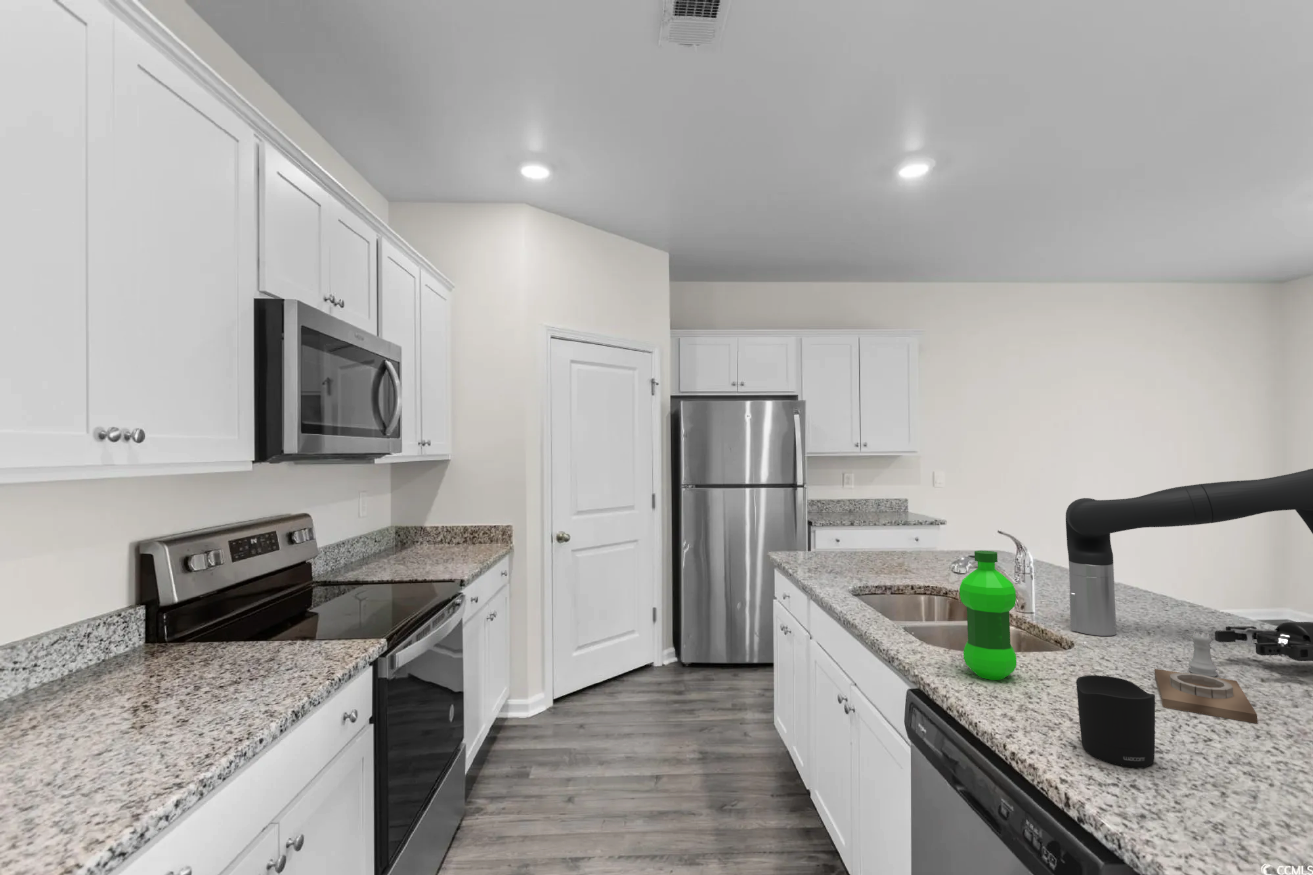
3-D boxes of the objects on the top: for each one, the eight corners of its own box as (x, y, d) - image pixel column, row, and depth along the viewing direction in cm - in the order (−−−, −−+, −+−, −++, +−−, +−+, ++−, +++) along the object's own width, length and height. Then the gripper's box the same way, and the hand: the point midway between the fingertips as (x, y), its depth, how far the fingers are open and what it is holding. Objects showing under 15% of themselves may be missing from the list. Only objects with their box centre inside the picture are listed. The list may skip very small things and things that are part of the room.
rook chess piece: (1212, 671, 123) (1210, 631, 124) (1222, 678, 119) (1220, 638, 120) (1184, 668, 125) (1183, 629, 125) (1193, 675, 121) (1191, 635, 121)
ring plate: (1162, 707, 107) (1162, 689, 107) (1154, 676, 121) (1154, 661, 121) (1257, 723, 100) (1256, 705, 100) (1236, 688, 114) (1236, 672, 114)
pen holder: (1072, 754, 91) (1069, 687, 91) (1086, 733, 97) (1083, 670, 98) (1153, 777, 84) (1150, 704, 84) (1161, 753, 90) (1158, 685, 91)
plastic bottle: (955, 665, 129) (951, 548, 130) (1009, 668, 127) (1005, 548, 128) (969, 682, 119) (965, 555, 120) (1028, 686, 117) (1023, 556, 118)
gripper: (1276, 613, 130) (1202, 614, 130) (1354, 632, 116) (1271, 634, 116) (1278, 648, 130) (1204, 650, 130) (1356, 672, 116) (1273, 673, 115)
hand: (1236, 642), depth 123 cm, fingers open, 8 cm apart
